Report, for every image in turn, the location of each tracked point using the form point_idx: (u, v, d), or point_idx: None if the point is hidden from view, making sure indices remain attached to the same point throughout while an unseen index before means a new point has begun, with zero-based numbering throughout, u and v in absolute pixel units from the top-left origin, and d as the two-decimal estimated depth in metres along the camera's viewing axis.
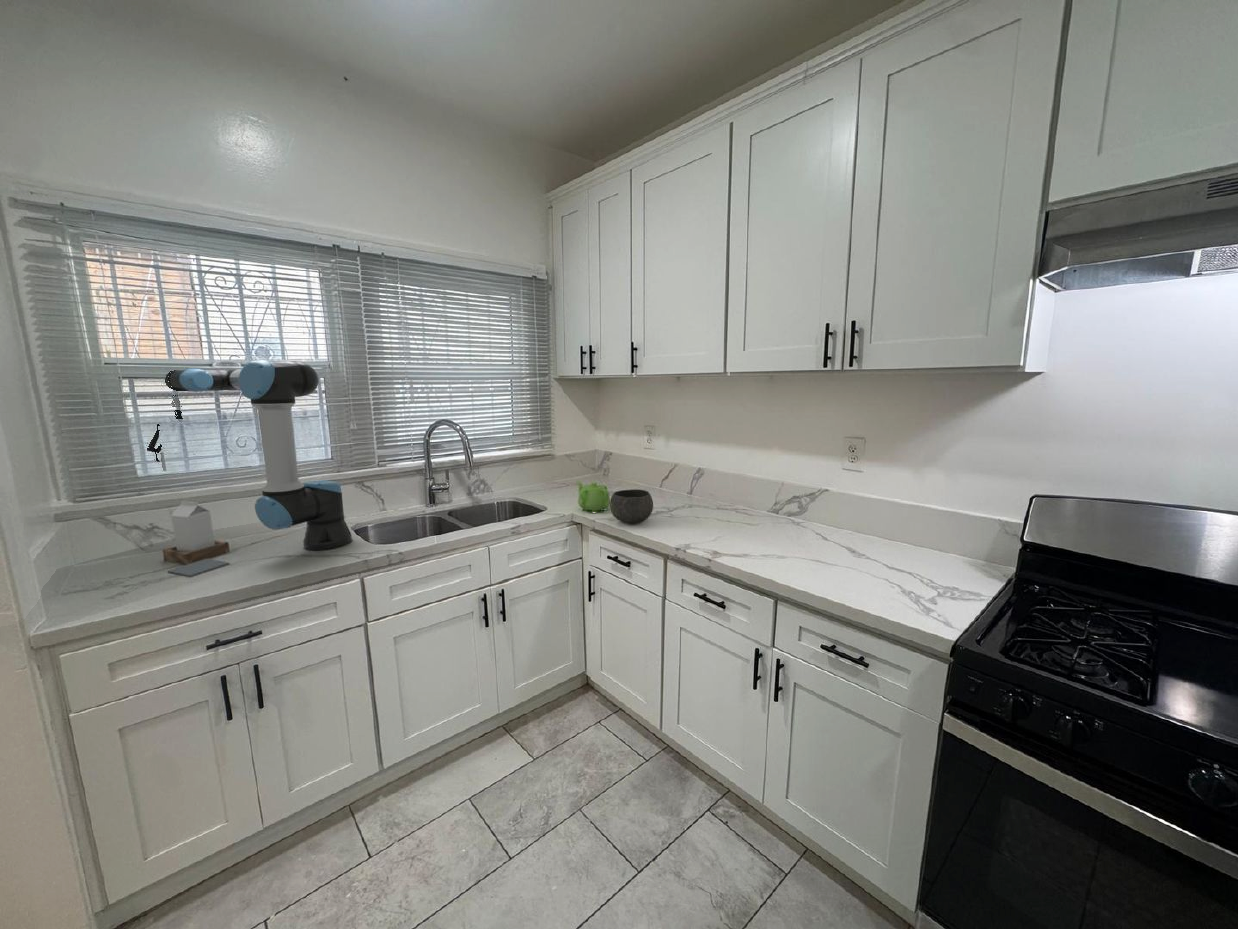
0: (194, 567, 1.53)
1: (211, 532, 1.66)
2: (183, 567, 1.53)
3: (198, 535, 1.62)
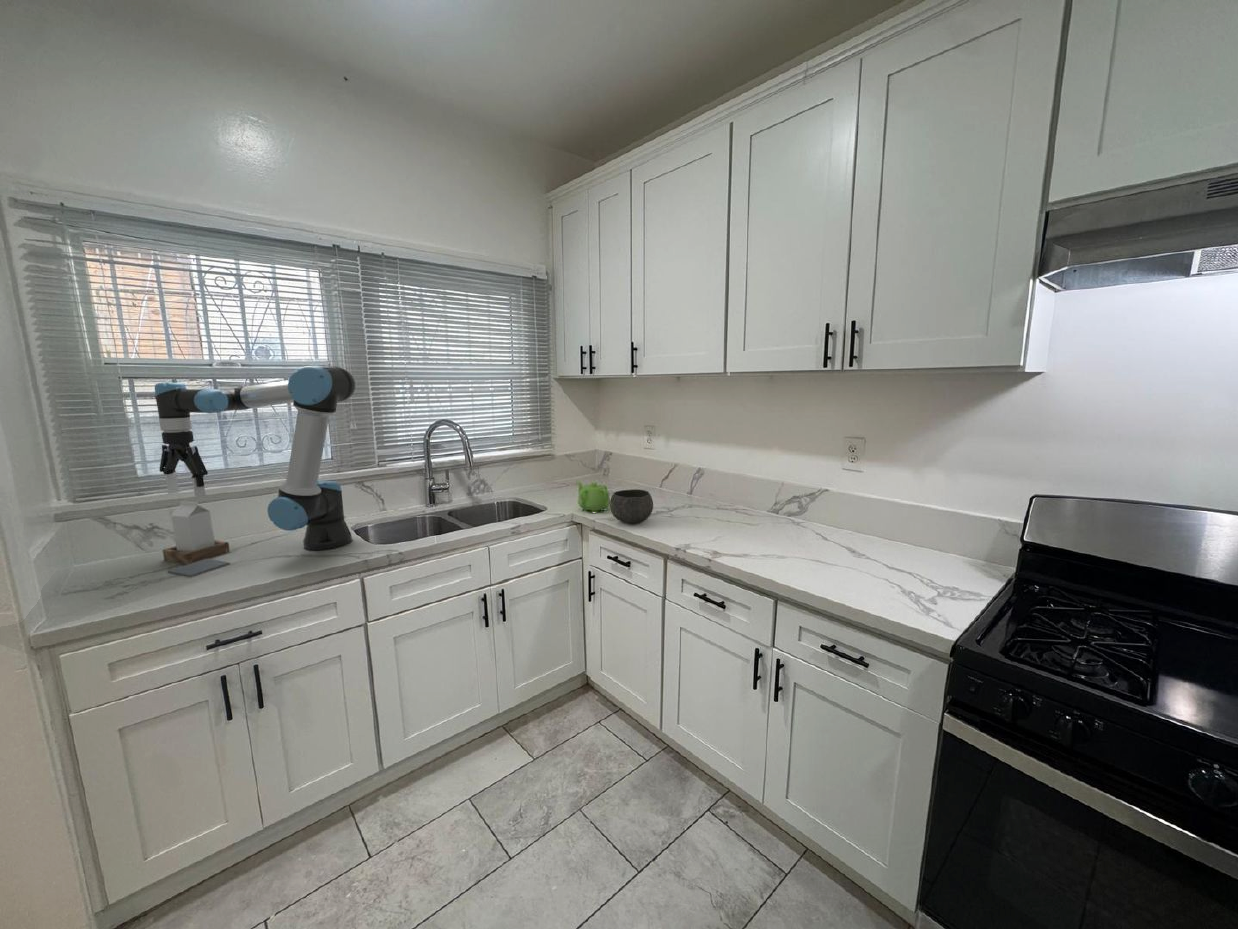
0: (194, 567, 1.53)
1: (211, 532, 1.66)
2: (183, 567, 1.53)
3: (198, 535, 1.62)
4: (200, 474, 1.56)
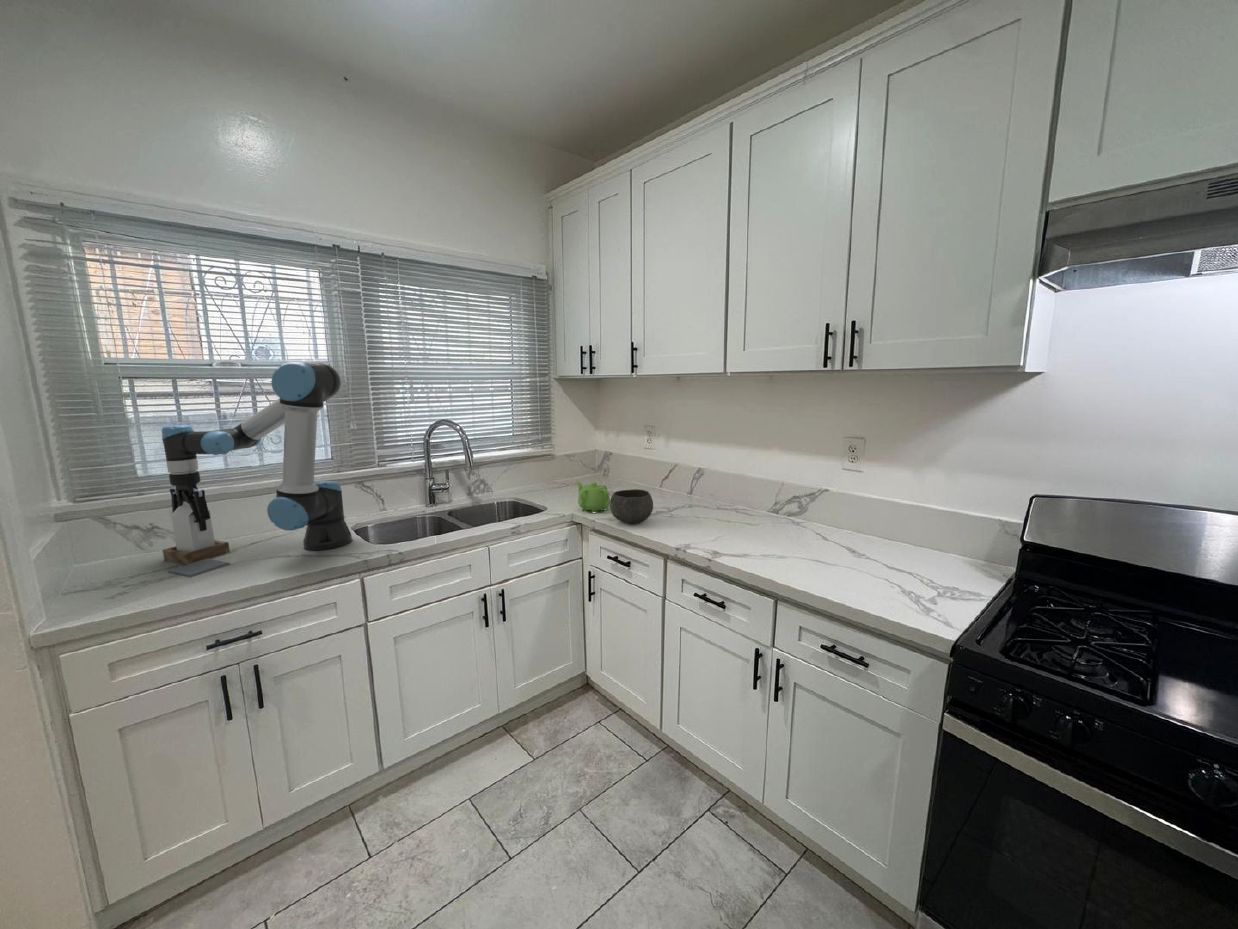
0: (194, 567, 1.53)
1: (211, 532, 1.66)
2: (183, 567, 1.53)
3: None
4: (203, 519, 1.59)
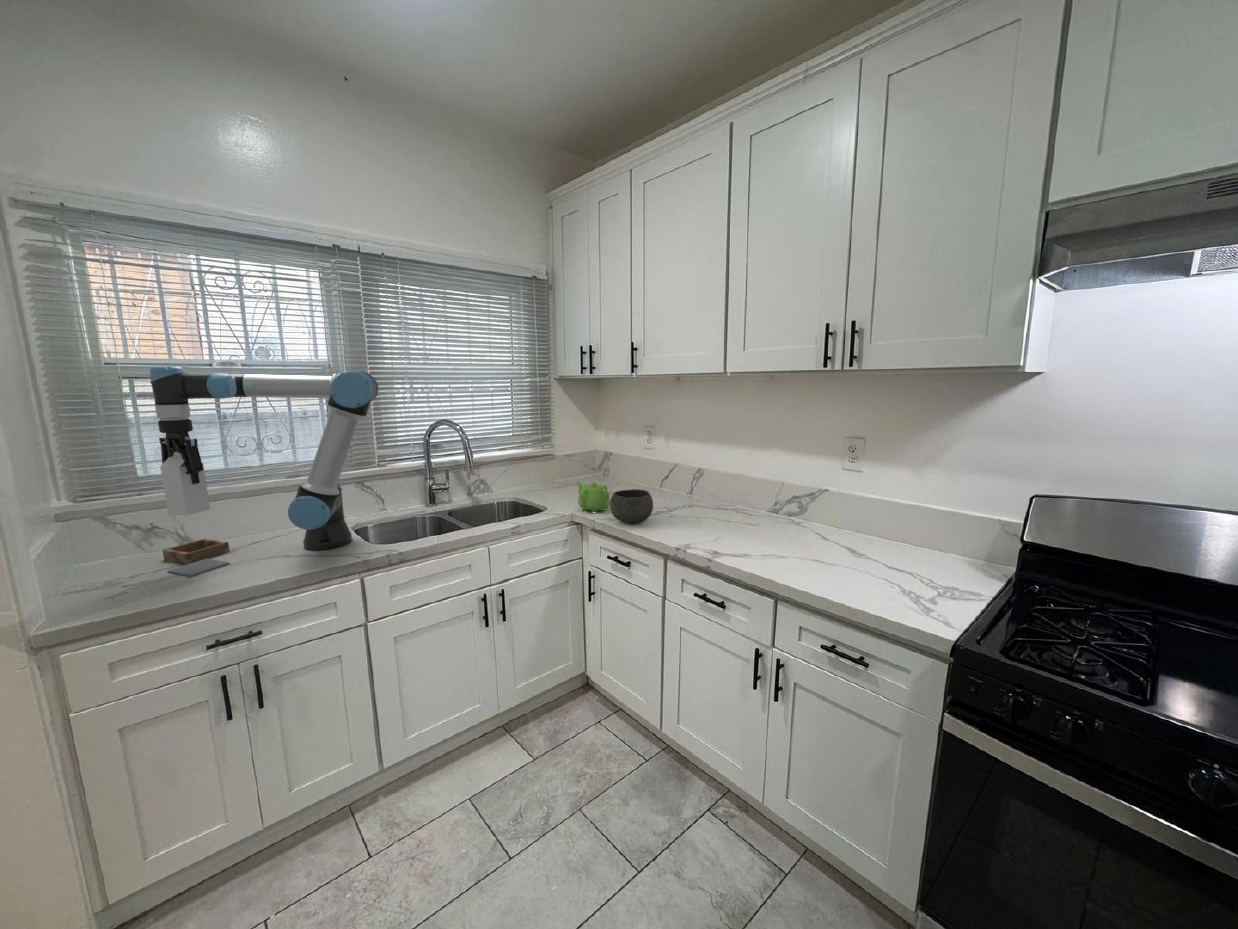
0: (194, 567, 1.53)
1: (204, 486, 1.52)
2: (183, 567, 1.53)
3: None
4: (195, 470, 1.45)
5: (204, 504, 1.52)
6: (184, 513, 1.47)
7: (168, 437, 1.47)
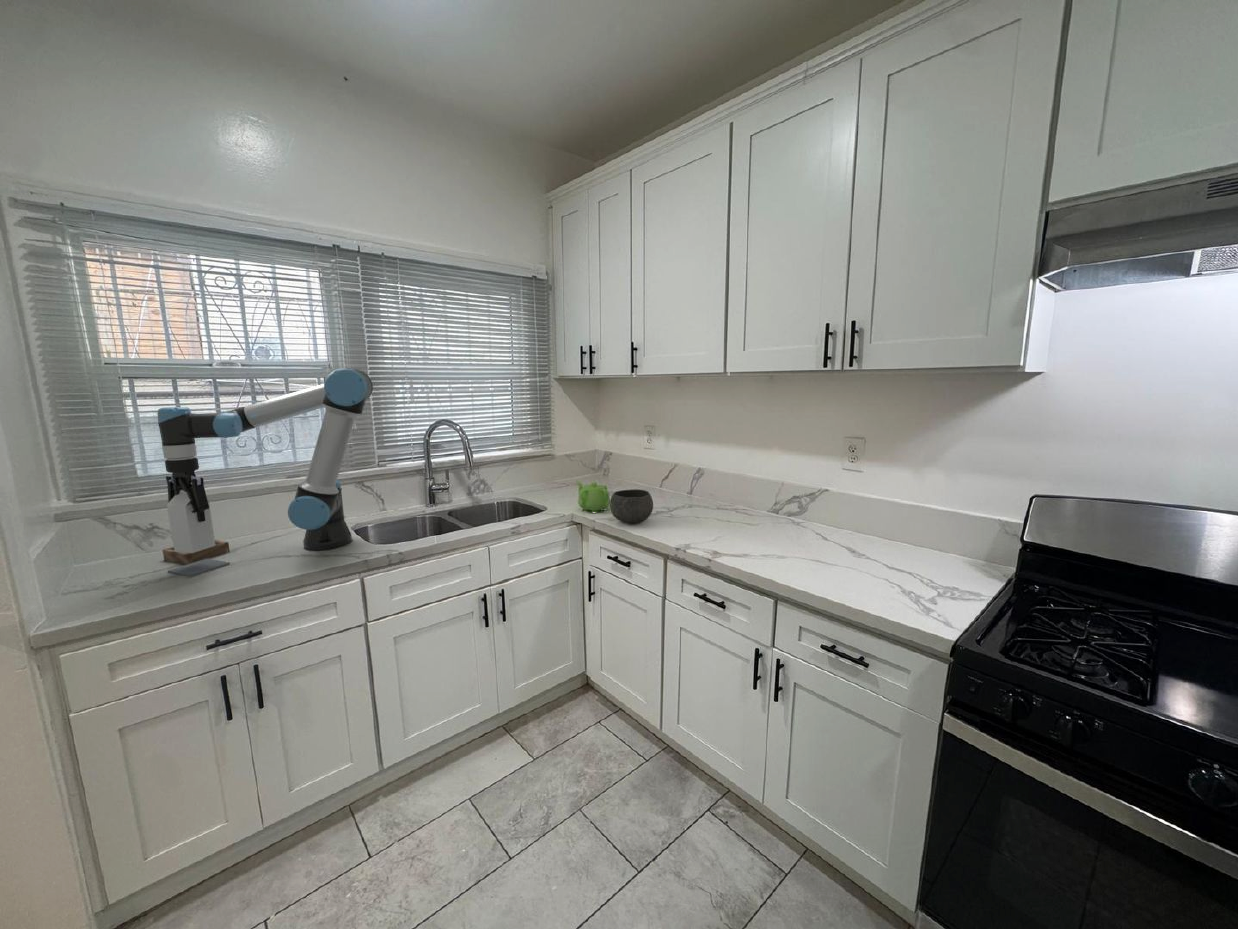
0: (194, 567, 1.53)
1: (210, 523, 1.54)
2: (183, 567, 1.53)
3: None
4: (201, 509, 1.47)
5: (209, 541, 1.54)
6: (190, 551, 1.49)
7: (174, 476, 1.49)
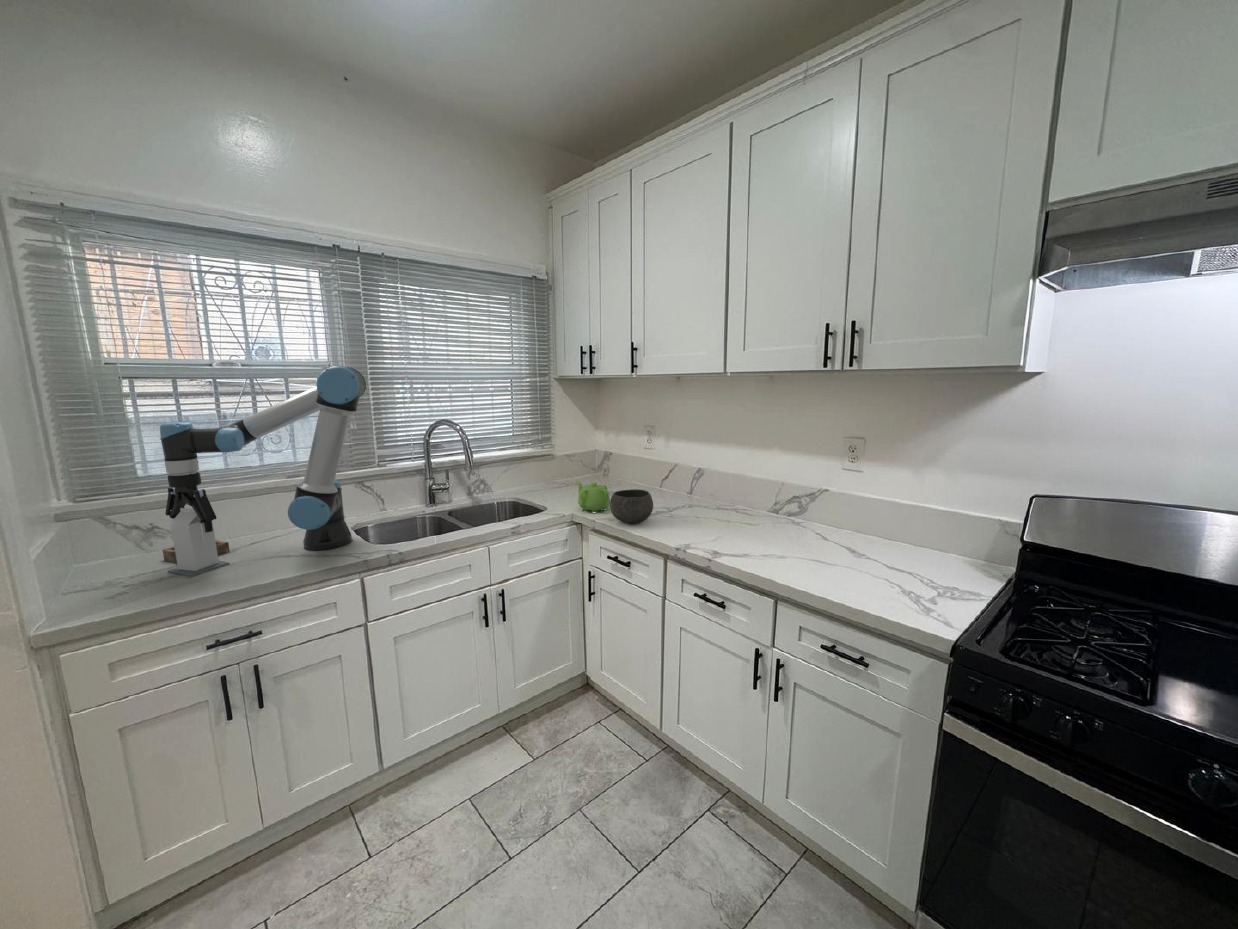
0: None
1: (213, 541, 1.55)
2: None
3: (199, 544, 1.51)
4: (208, 519, 1.47)
5: (213, 558, 1.55)
6: (193, 569, 1.50)
7: (177, 491, 1.50)
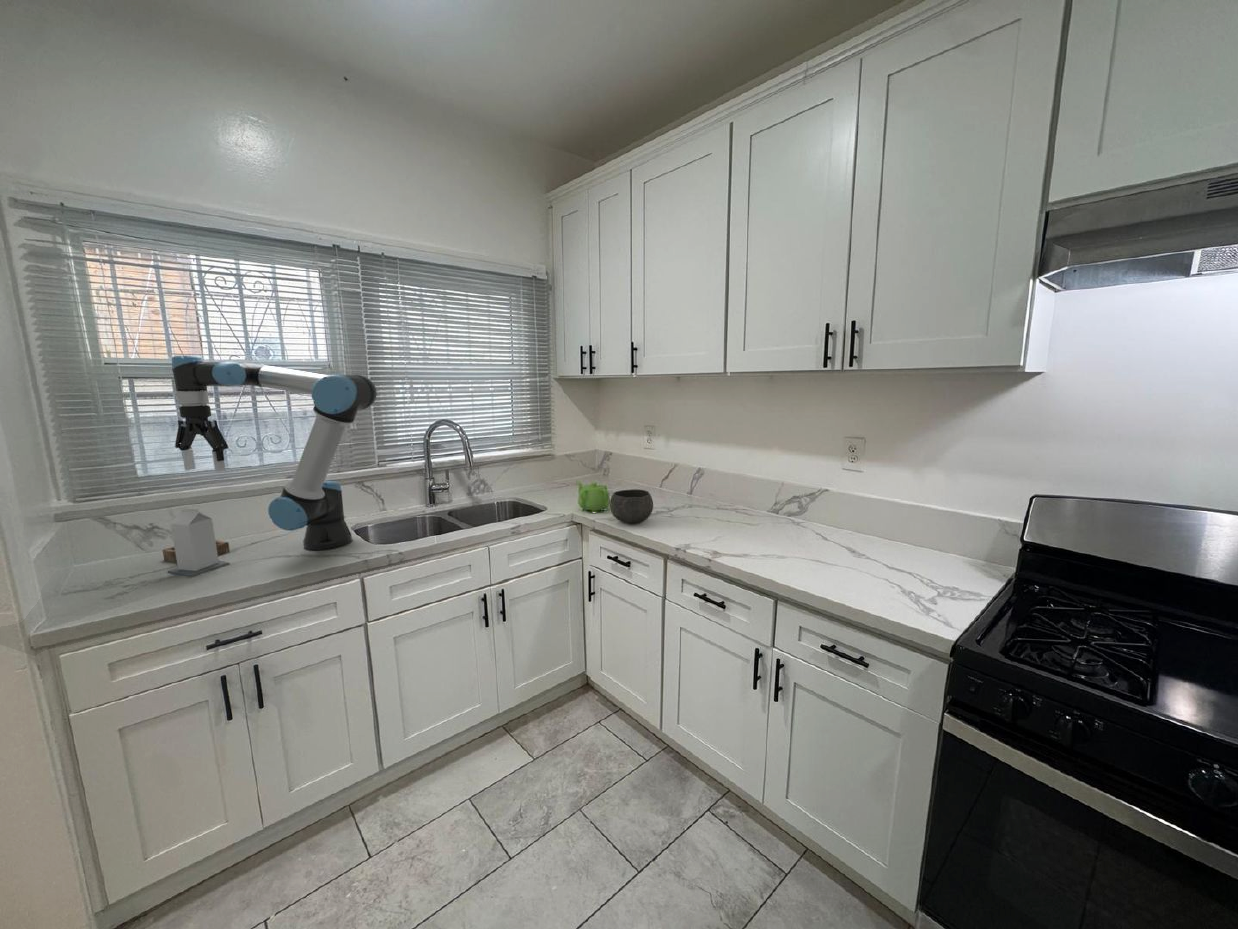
0: None
1: (213, 541, 1.55)
2: None
3: (199, 544, 1.51)
4: (221, 448, 1.54)
5: (213, 558, 1.55)
6: (193, 569, 1.50)
7: (188, 423, 1.56)
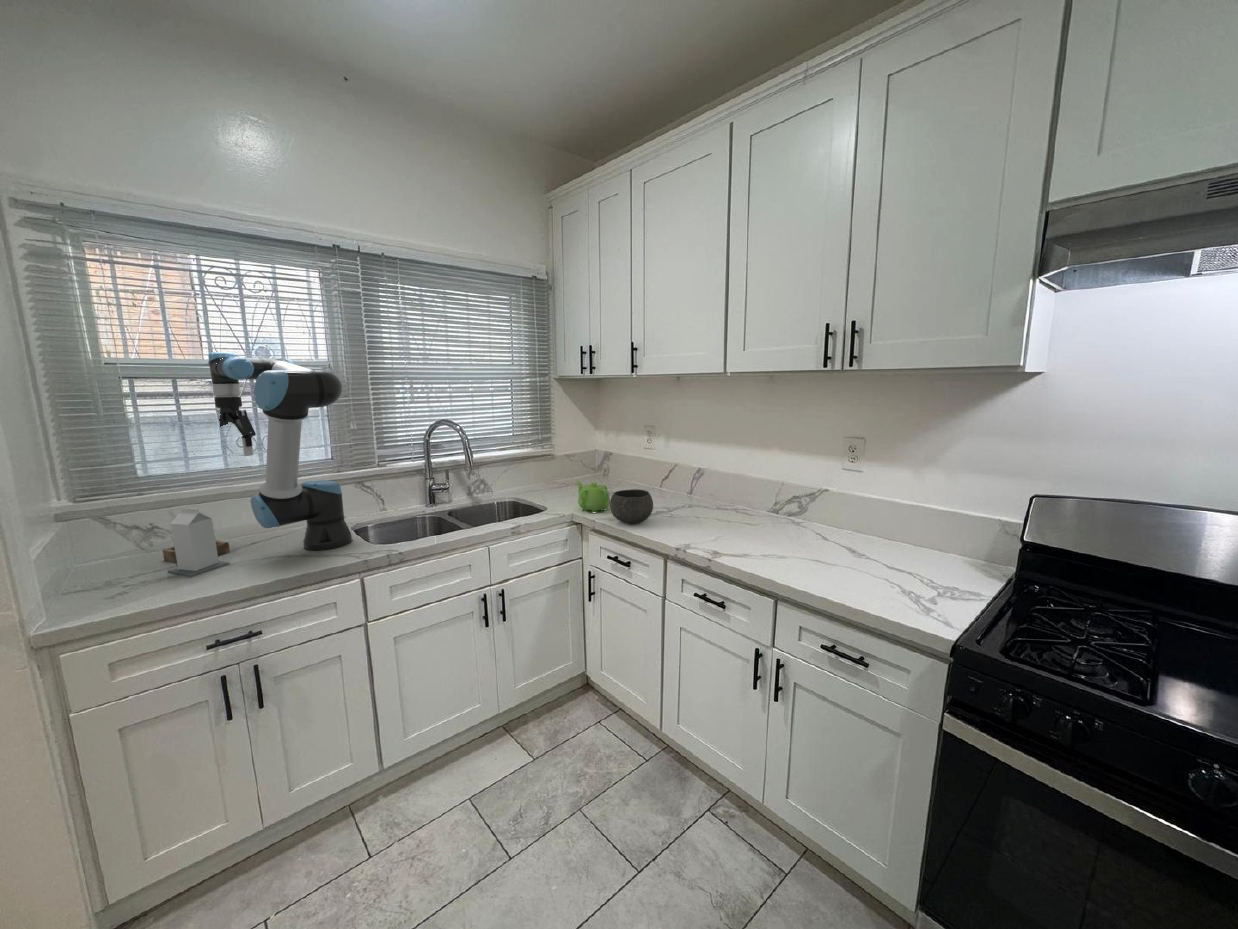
0: None
1: (213, 541, 1.55)
2: None
3: (199, 544, 1.51)
4: (249, 435, 1.73)
5: (213, 558, 1.55)
6: (193, 569, 1.50)
7: (222, 412, 1.75)
